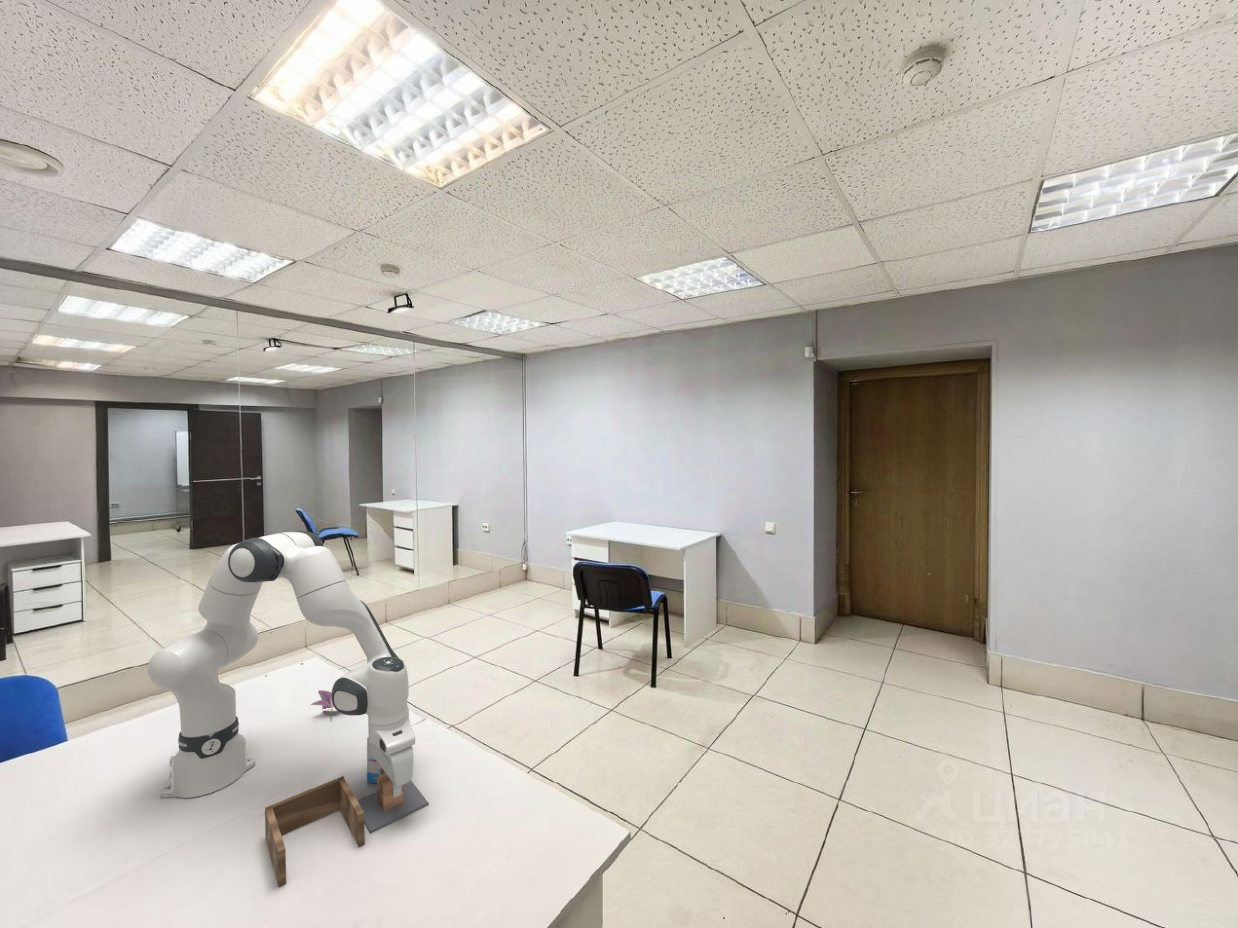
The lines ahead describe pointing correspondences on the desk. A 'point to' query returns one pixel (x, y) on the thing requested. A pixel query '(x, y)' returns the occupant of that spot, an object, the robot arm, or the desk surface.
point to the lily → (325, 700)
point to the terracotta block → (387, 793)
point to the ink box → (371, 766)
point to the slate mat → (380, 818)
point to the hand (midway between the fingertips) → (389, 784)
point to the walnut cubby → (310, 817)
